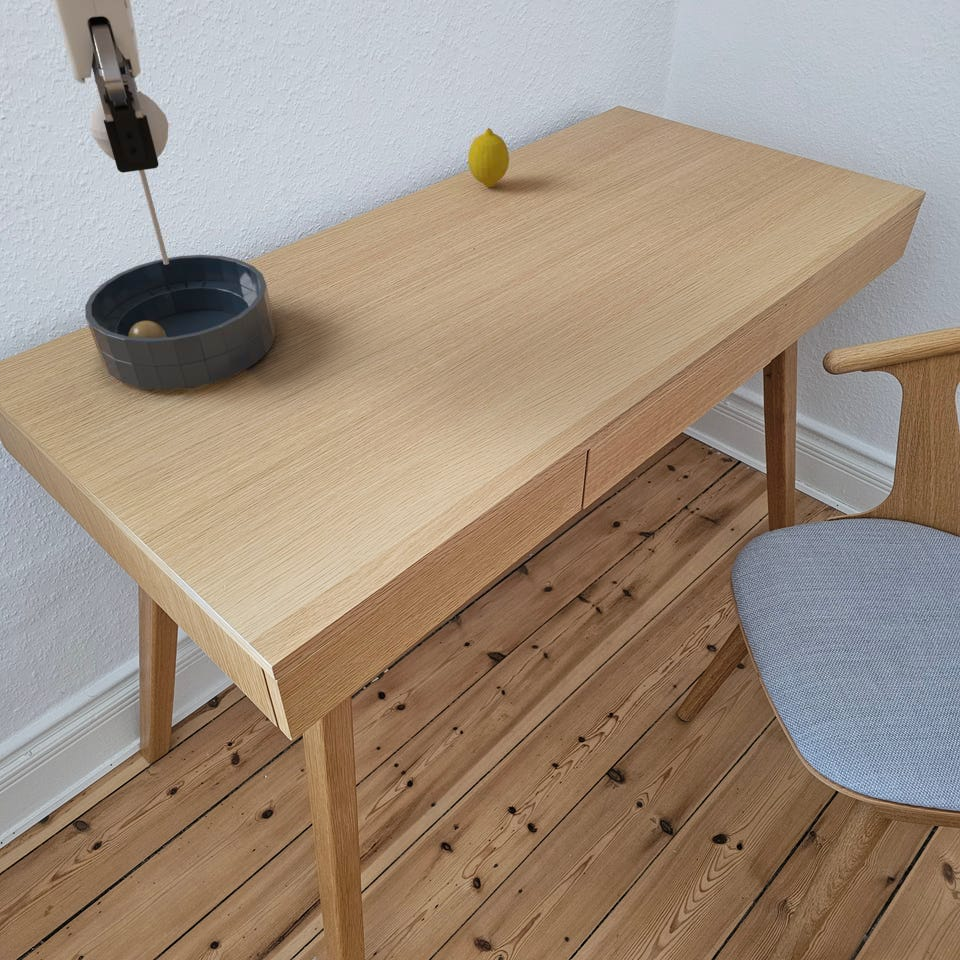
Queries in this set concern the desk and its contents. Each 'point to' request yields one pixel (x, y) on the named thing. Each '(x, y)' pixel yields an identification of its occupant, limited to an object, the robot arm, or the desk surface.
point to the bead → (147, 330)
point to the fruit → (488, 158)
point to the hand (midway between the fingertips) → (136, 153)
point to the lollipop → (159, 136)
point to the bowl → (182, 321)
